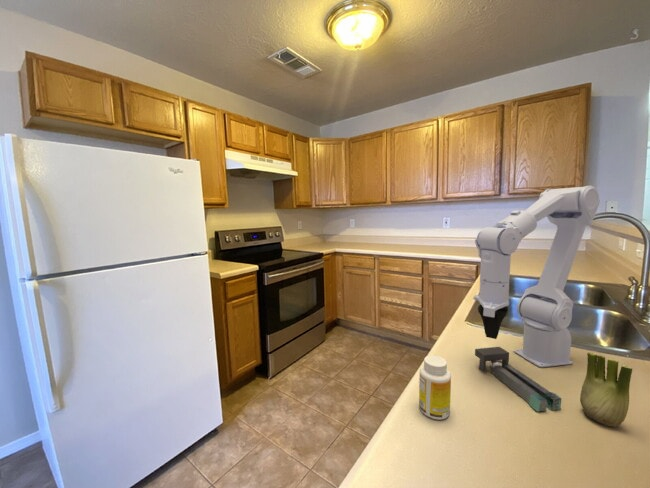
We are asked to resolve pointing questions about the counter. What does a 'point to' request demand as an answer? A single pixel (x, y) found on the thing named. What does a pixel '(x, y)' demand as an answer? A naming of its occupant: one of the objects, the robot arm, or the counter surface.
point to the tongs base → (532, 385)
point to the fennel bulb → (605, 390)
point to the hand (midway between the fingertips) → (491, 337)
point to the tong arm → (521, 389)
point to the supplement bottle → (435, 388)
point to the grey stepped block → (491, 356)
